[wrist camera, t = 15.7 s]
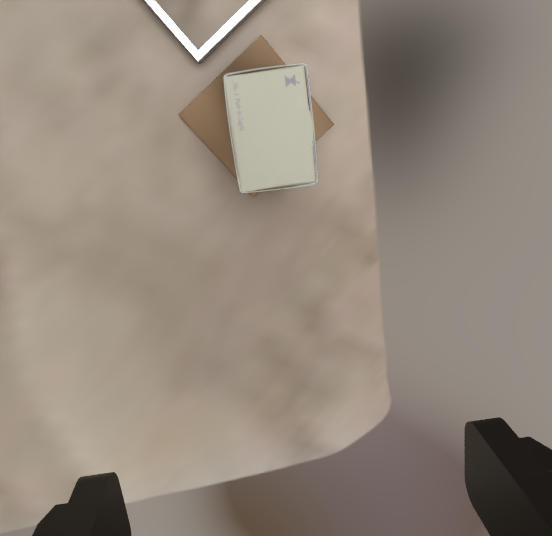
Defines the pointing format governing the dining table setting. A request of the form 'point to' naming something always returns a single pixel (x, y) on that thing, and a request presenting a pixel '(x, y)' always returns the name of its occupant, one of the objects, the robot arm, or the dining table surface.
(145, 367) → the dining table surface
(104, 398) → the dining table surface
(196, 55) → the metal square frame
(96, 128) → the dining table surface
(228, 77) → the skincare box
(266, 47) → the coaster
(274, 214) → the dining table surface
